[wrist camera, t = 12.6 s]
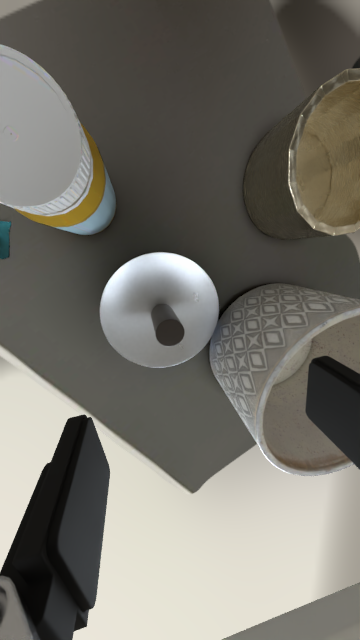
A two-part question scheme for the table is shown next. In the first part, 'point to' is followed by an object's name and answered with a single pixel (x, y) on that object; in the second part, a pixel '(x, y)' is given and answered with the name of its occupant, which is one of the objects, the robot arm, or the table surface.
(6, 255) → the figurine
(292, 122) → the pot
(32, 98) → the bottle
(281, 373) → the planter
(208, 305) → the lid
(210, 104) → the table surface
